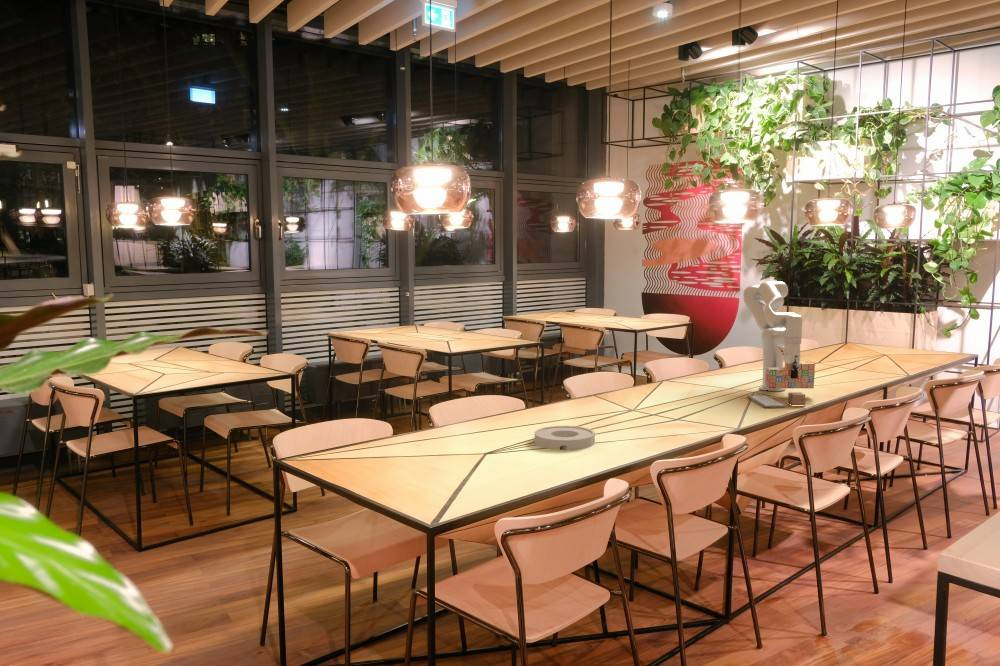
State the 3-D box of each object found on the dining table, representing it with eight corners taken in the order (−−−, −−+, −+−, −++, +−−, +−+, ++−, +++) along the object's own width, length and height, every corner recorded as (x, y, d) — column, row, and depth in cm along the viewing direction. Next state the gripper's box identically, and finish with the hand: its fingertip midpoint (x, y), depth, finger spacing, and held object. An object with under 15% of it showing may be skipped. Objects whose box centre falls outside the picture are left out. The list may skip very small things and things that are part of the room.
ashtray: (566, 432, 312) (566, 422, 312) (608, 443, 294) (608, 433, 293) (522, 442, 298) (522, 431, 298) (562, 454, 280) (562, 443, 279)
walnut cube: (788, 404, 359) (788, 392, 359) (800, 404, 359) (800, 392, 359) (792, 406, 354) (793, 394, 353) (804, 406, 354) (805, 394, 353)
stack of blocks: (768, 388, 374) (769, 363, 372) (765, 385, 380) (766, 361, 378) (814, 388, 372) (815, 363, 370) (809, 385, 378) (810, 360, 377)
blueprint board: (747, 397, 376) (747, 395, 376) (767, 397, 376) (767, 395, 376) (764, 408, 351) (764, 405, 351) (786, 407, 351) (786, 405, 351)
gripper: (778, 337, 381) (777, 373, 384) (792, 343, 364) (790, 380, 367) (793, 337, 381) (792, 373, 384) (807, 343, 364) (806, 380, 367)
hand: (791, 376), depth 375 cm, fingers closed on stack of blocks, 6 cm apart
